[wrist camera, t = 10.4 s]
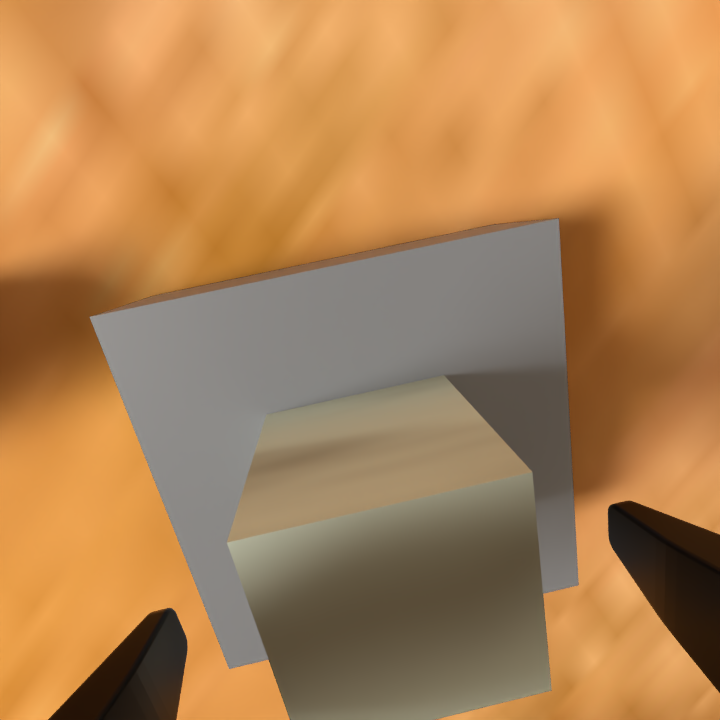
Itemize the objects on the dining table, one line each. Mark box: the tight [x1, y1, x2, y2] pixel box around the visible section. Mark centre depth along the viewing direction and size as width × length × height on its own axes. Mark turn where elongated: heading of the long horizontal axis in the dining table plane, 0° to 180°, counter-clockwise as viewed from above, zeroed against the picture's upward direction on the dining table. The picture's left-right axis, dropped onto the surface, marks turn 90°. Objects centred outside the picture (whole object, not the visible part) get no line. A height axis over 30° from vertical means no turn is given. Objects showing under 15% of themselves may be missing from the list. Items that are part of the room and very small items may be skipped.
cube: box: [227, 375, 552, 720], centre depth 10 cm, size 5×5×5 cm
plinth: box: [90, 218, 578, 669], centre depth 14 cm, size 12×12×4 cm
